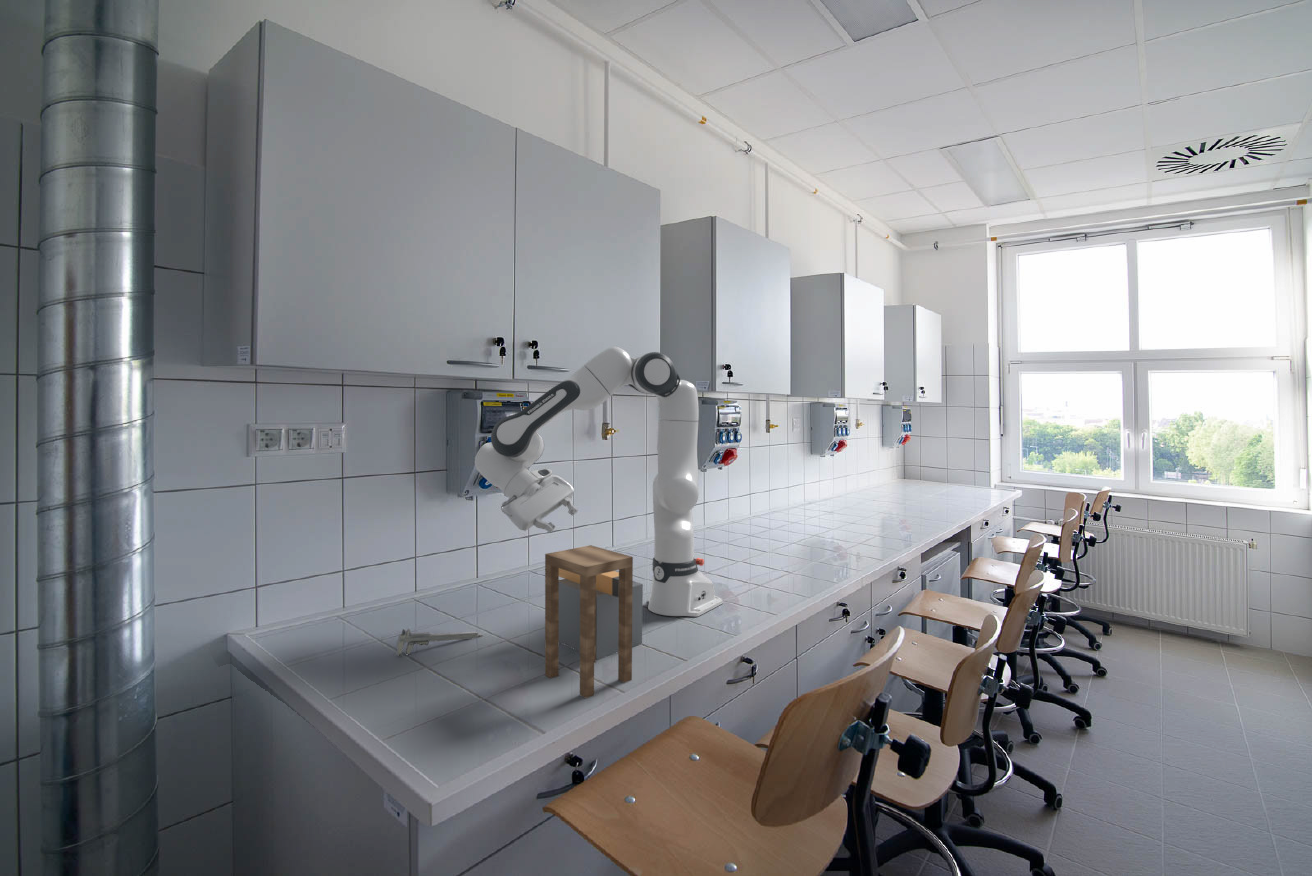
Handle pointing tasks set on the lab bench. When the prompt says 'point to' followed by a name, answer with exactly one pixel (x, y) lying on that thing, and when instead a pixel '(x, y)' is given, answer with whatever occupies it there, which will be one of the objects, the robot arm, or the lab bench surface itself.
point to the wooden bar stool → (588, 609)
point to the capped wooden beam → (597, 581)
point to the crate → (597, 618)
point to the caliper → (428, 638)
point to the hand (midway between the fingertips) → (564, 521)
